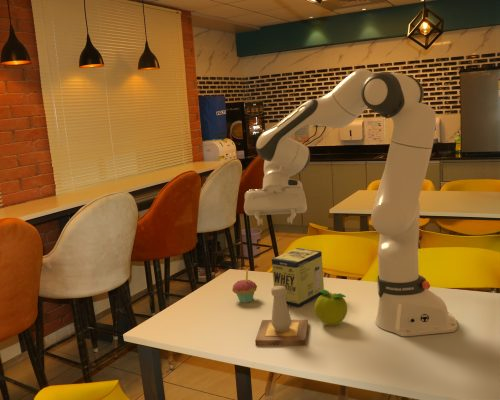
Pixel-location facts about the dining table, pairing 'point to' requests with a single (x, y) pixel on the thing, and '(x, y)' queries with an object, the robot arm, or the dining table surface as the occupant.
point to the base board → (282, 334)
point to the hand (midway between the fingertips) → (274, 224)
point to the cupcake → (245, 289)
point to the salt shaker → (280, 310)
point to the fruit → (331, 308)
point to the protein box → (299, 275)
